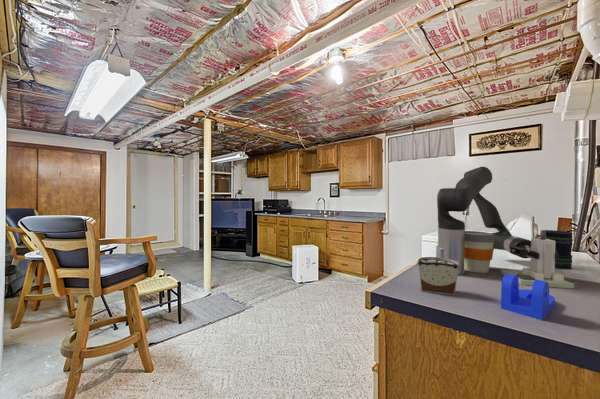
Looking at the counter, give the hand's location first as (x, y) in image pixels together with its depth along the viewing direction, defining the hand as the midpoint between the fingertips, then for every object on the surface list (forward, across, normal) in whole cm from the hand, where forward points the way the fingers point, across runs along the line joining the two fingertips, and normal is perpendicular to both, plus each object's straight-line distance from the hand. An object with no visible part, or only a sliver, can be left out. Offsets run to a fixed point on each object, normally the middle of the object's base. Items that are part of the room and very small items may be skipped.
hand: (547, 256), depth 91 cm
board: (-3, -2, +9) cm, 10 cm away
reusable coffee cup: (-13, -17, +10) cm, 24 cm away
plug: (-3, 0, +8) cm, 8 cm away
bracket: (+22, -17, +10) cm, 30 cm away
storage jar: (-27, +19, +10) cm, 35 cm away
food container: (+16, -39, +9) cm, 43 cm away
